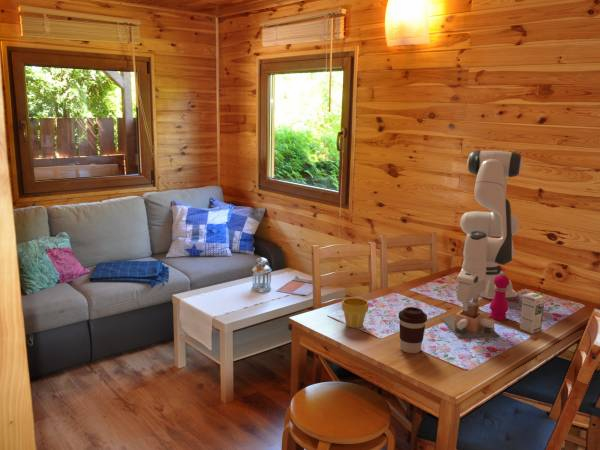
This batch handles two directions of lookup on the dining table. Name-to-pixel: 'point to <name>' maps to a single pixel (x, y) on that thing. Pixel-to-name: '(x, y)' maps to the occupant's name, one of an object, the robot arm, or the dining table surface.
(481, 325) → the grey base with box
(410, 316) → the coffee cup
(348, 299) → the plant pot
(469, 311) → the walnut coupler
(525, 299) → the syrup box
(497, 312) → the pepper mill
